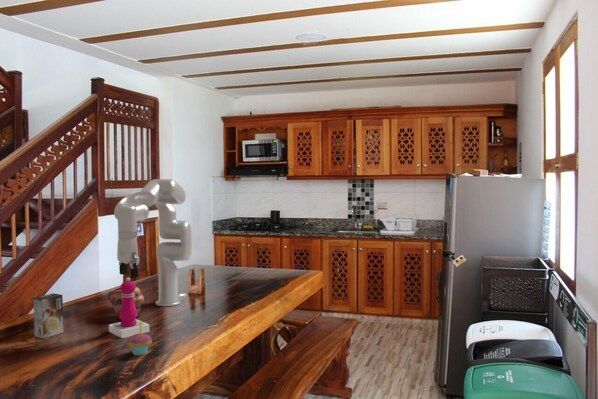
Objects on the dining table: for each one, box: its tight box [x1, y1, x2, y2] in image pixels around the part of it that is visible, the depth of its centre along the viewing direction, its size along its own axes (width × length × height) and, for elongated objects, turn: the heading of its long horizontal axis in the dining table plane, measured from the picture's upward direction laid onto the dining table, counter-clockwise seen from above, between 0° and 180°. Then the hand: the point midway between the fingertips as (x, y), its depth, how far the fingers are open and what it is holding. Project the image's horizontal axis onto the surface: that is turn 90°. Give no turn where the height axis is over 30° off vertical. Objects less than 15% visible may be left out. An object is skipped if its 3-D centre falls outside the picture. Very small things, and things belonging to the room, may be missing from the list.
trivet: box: [108, 318, 150, 339], centre depth 210 cm, size 12×12×3 cm
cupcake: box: [127, 321, 153, 356], centre depth 184 cm, size 9×8×12 cm
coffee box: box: [32, 293, 65, 339], centre depth 206 cm, size 9×6×16 cm
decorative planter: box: [107, 286, 145, 320], centre depth 232 cm, size 20×12×14 cm, turn 74°
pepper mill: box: [119, 277, 138, 327], centre depth 208 cm, size 7×7×20 cm
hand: (128, 275), depth 210 cm, fingers open, 9 cm apart
